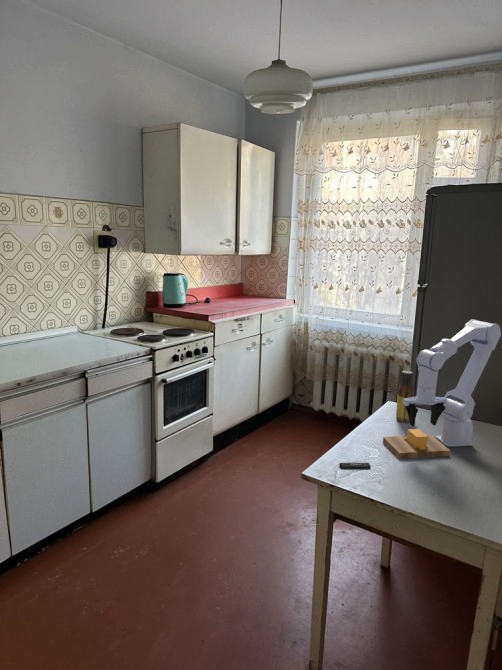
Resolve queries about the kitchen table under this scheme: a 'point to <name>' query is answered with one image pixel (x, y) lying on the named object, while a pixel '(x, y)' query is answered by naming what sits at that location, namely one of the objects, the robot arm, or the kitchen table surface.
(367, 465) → the usb stick
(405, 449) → the pocket board
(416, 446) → the block
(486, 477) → the kitchen table surface
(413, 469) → the kitchen table surface
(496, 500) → the kitchen table surface
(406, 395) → the sauce bottle
